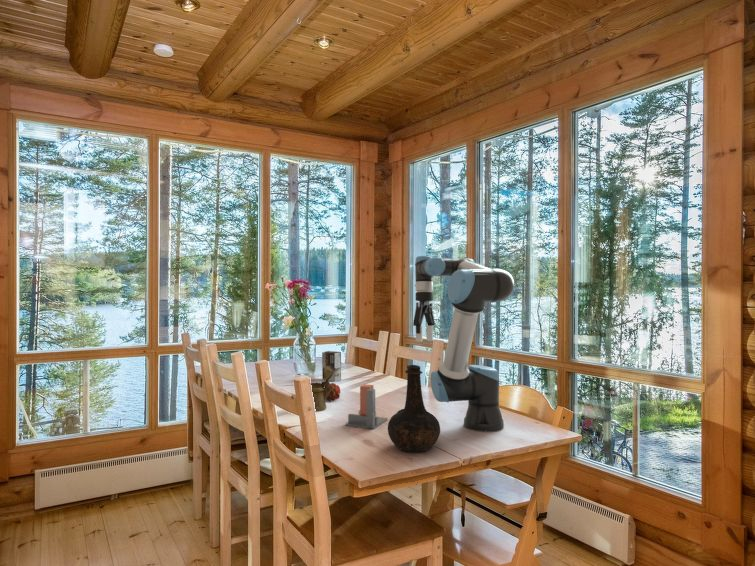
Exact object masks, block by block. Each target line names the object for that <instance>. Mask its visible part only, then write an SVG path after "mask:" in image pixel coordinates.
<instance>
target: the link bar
mask: <svg viewBox="0 0 755 566" xmlns="http://www.w3.org/2000/svg"><path fill="white" fill-rule="evenodd" d="M374 388H375V387H374V384H362V385H360V386H359V397H360V398H359V401H360V402H359V404H360V405H359V408H360V409H359V410H360V415H367V390H368V389H374Z"/></svg>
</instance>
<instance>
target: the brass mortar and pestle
mask: <svg viewBox="0 0 755 566" xmlns="http://www.w3.org/2000/svg"><path fill="white" fill-rule="evenodd" d="M335 370H336V368H334V369H333V370H332V371H331V373H330V374H329V376H328V377H327V379H326V381H322V382H310V383H311V385H312V392H313V397H314V402H315V409H316V412H322V410H323V411H325V410H326V409H327V403H326V402H327V397H328V395H329V393H330V391H331V385H330V384H331V383H330V381H329V379H330V378H331V377H332V375H333V374H334V372H335ZM324 387H326V388H327V392H326V393H324V392H323V390H325V389H324Z"/></svg>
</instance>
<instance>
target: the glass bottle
mask: <svg viewBox="0 0 755 566" xmlns="http://www.w3.org/2000/svg"><path fill="white" fill-rule="evenodd" d="M406 368H407V369H406V370H405V371H404V373H406V375H407V377H406V378H407V379H406V380H407V381H406V395H405V404H404V408H402V409H399V410H398V411H397V412H396V413H395V414H393V415H392V416H391V417H390V419H389V421H388V423H387V433H388V436H389V439H390V441H391V442H392V443H393V445H395V447H396V448H398V449H400V450H401V451H404V452H409V453H421V452H425V451H427V450H429V449H431V448H432V447H434V445H436V443H437V442H438V440H439V437H440V435H441V426H440V422H439V420H438V419H437V418H436V416H435V415H434V414H432V413H430V412H428V410H427V409H426V407H425V403H424V399H423V391H422V383H421V382H422V381H421V375H422V374H423V371H421V366H420V365H416V364H409V365H407V366H406Z"/></svg>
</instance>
